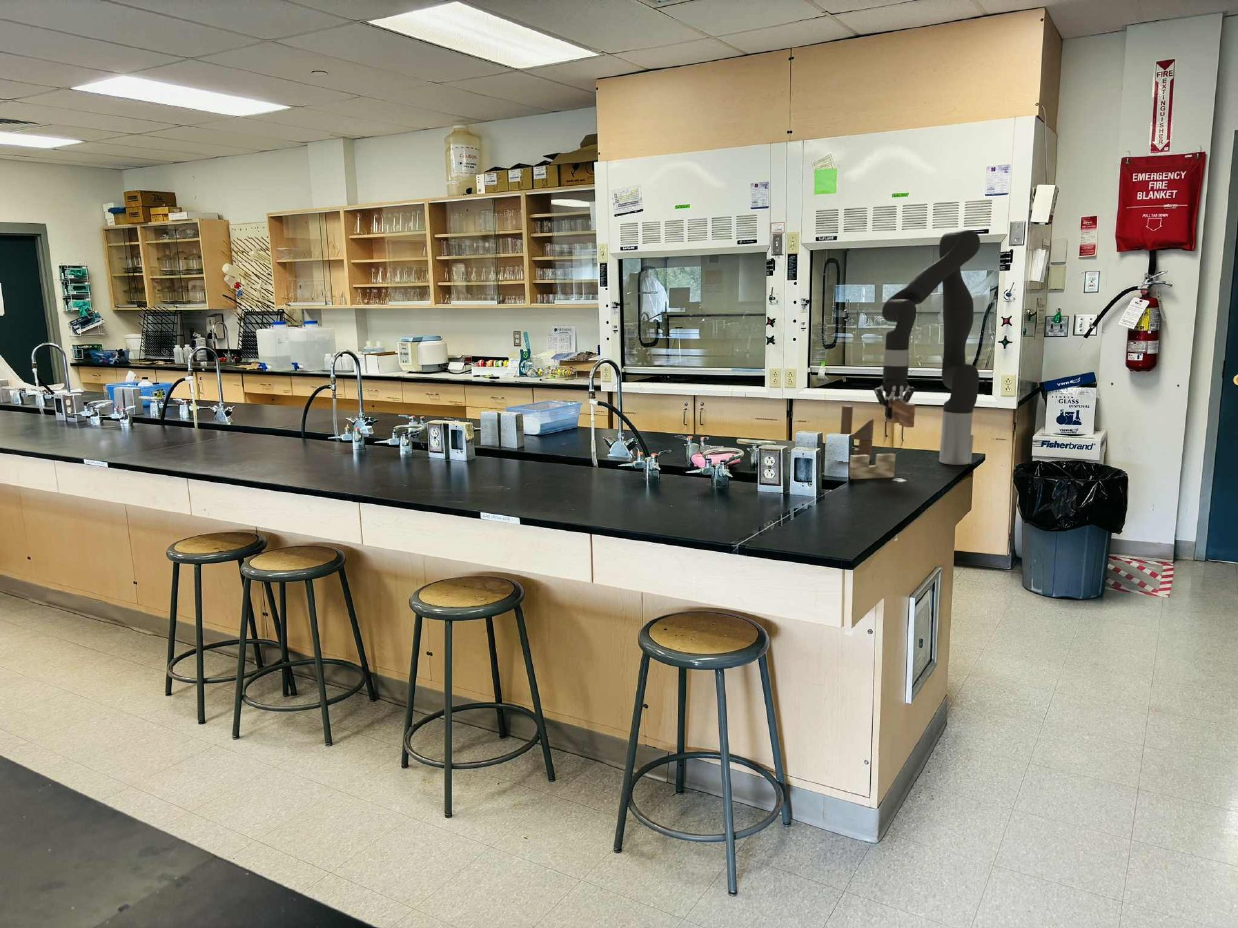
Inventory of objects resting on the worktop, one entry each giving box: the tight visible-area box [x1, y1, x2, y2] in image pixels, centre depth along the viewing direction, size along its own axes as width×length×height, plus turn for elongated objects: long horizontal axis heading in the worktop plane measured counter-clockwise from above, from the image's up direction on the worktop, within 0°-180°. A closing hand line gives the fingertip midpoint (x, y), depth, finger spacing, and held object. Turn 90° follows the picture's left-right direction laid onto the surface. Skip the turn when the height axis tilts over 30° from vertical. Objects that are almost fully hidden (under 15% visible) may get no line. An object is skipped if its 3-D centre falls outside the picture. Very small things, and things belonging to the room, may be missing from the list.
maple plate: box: [848, 453, 896, 480], centre depth 266 cm, size 14×2×7 cm, turn 102°
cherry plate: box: [885, 398, 916, 428], centre depth 270 cm, size 2×13×7 cm, turn 12°
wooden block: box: [840, 404, 875, 462], centre depth 292 cm, size 4×11×18 cm, turn 56°
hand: (892, 418), depth 274 cm, fingers closed on cherry plate, 2 cm apart
